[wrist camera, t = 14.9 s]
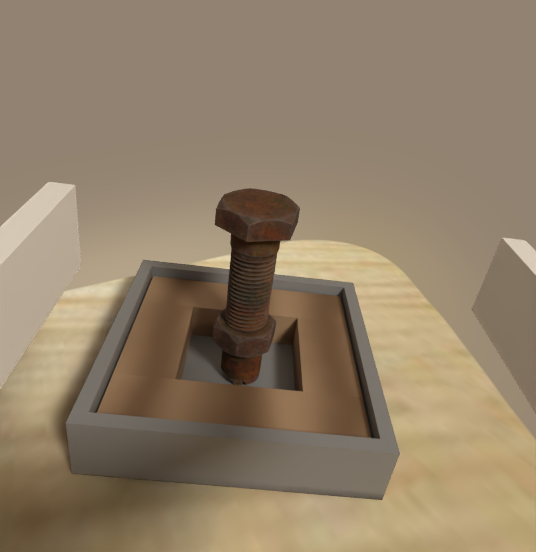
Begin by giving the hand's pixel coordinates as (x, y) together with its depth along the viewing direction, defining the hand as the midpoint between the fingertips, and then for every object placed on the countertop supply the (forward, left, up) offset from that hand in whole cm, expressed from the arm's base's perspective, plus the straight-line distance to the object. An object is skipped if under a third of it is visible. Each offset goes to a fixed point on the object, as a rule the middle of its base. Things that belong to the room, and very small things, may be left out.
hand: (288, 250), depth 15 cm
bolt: (-1, +17, -20) cm, 26 cm away
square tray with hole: (-1, +17, -21) cm, 27 cm away
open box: (-1, +17, -21) cm, 27 cm away
